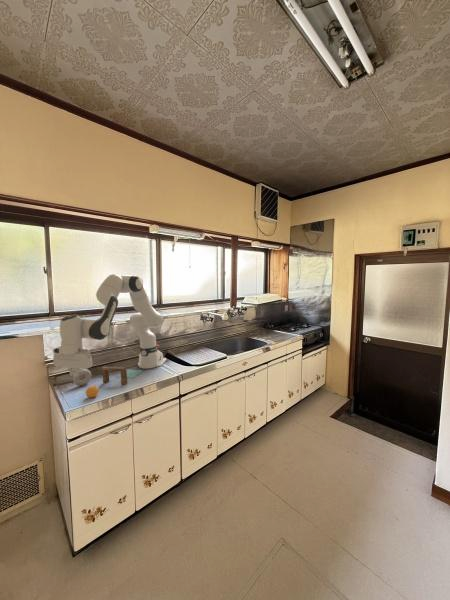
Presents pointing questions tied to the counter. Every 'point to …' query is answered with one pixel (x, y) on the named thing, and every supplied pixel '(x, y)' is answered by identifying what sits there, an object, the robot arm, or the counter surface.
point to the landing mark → (132, 373)
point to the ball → (92, 391)
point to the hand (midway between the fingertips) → (74, 376)
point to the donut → (85, 380)
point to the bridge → (121, 369)
